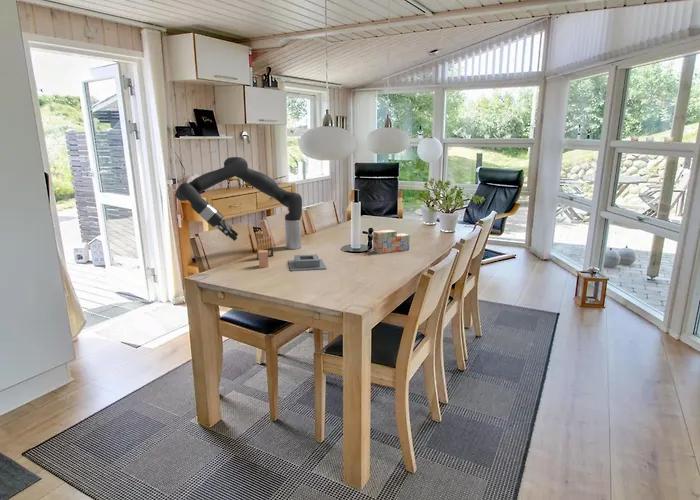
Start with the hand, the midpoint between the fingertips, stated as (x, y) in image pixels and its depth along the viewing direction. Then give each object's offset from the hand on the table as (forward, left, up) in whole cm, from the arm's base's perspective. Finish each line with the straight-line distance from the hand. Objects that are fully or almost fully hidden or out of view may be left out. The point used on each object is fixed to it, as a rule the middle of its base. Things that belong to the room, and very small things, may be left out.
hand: (236, 237), depth 222 cm
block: (0, +13, -16) cm, 20 cm away
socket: (+2, +35, -16) cm, 38 cm away
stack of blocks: (-21, +87, -16) cm, 91 cm away
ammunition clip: (-17, +14, -16) cm, 27 cm away
